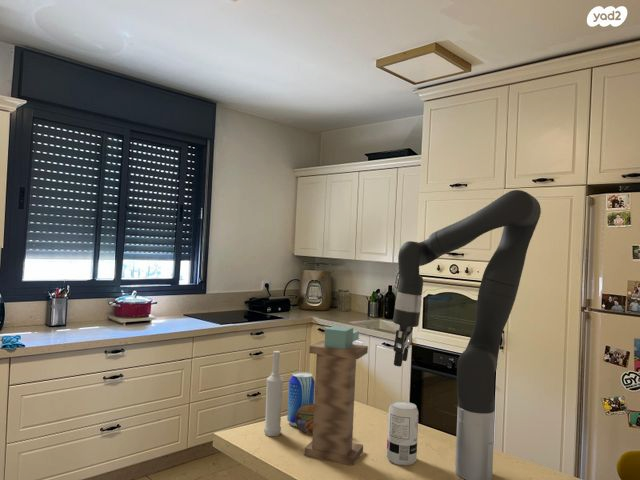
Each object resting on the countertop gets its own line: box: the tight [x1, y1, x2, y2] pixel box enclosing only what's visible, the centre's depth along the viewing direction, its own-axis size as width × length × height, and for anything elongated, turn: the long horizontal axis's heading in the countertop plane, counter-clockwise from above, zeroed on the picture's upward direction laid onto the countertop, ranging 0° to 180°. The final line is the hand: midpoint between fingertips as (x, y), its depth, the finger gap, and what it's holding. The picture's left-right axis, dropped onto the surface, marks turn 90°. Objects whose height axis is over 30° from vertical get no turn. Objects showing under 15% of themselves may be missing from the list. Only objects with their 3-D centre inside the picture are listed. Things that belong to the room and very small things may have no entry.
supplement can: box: [386, 400, 419, 466], centre depth 129 cm, size 8×8×15 cm
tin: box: [295, 404, 314, 434], centre depth 147 cm, size 15×3×8 cm, turn 84°
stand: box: [303, 340, 369, 467], centre depth 131 cm, size 14×10×30 cm
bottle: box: [263, 350, 284, 437], centre depth 144 cm, size 5×5×25 cm
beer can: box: [286, 371, 315, 428], centre depth 153 cm, size 8×8×16 cm
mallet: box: [324, 325, 360, 349], centre depth 137 cm, size 6×19×5 cm, turn 159°
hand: (400, 363), depth 137 cm, fingers open, 8 cm apart
